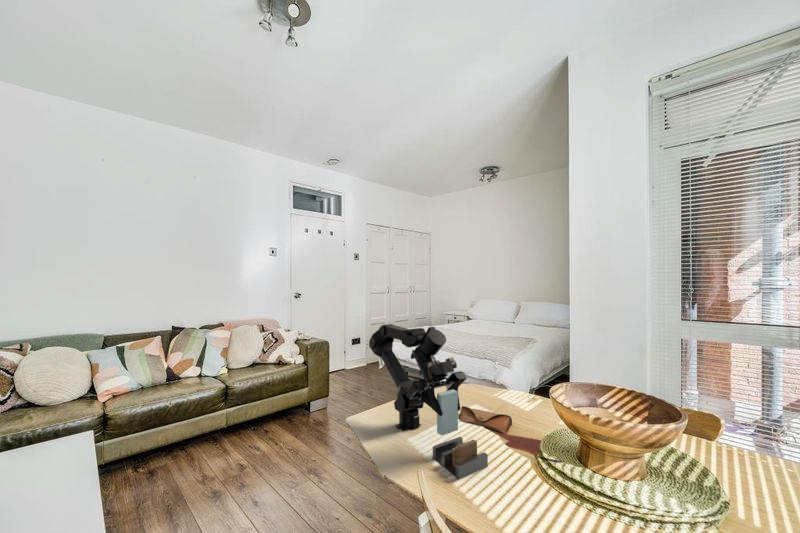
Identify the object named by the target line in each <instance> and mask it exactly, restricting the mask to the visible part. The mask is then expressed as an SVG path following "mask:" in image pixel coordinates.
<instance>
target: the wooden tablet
mask: <svg viewBox="0 0 800 533" xmlns="http://www.w3.org/2000/svg"><path fill="white" fill-rule="evenodd" d="M492 433H493V434H495V435H497V436H498V437H501V438H503V439H504V440H506V442H505V443H504V445H505V446H506V447H508V448H511V449H515V450H519V451H522V452H526V453H530V454H531V455H533V456H534V457H536V456H537V455H538V453H539V452H538V449H539V446H540V443H541V441H542V440H541V439H536V438H532V437H531V438H530V437H525V436H520V435H513V434H508V433H507V434H501V433H498V432H494V431H492Z"/></svg>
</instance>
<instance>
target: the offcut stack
mask: <svg viewBox="0 0 800 533" xmlns="http://www.w3.org/2000/svg"><path fill="white" fill-rule="evenodd" d="M476 455H478V442H477V440H475V439H471V440H468V441H466V442H463V444H460V445H458V446H456V447H455V448H453V449H452V466H453V467H454V468H455V469H456V464H457V463H459V462H462V461H464V460H466V459H469V458H471V457H474V456H476Z"/></svg>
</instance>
